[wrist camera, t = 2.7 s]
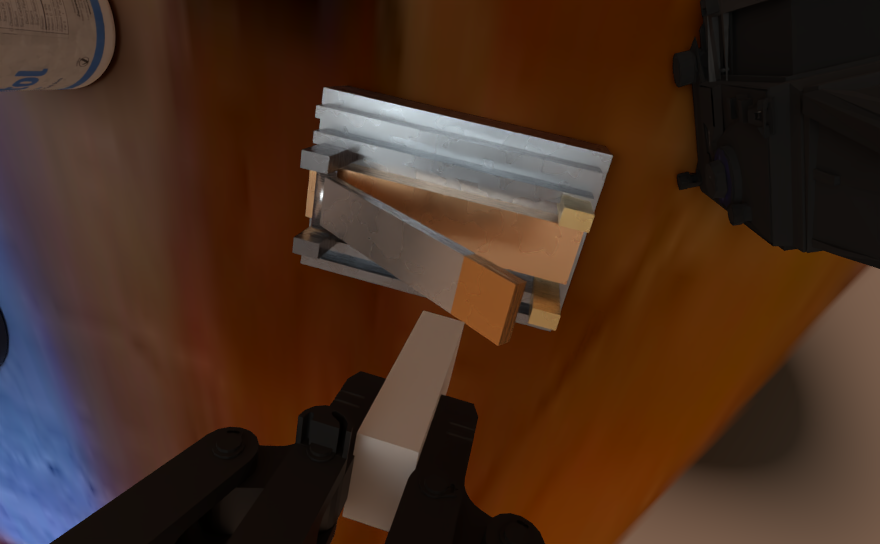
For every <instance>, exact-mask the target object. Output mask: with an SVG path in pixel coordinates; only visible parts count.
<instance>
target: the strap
mask: <svg viewBox="0 0 880 544" xmlns="http://www.w3.org/2000/svg"><path fill="white" fill-rule="evenodd" d="M337 172H338V171H337V170H336V171H333V172H331V173H329V174H324V173H320V172H317V173H316V183H315V193H314V202H313V212H312V221H311V226H312V227H313V228H315V229H319V230H328V231H329V232H331V233H332V234H334V235H335V236H337V237H338V238H340V239H341V240H343V241H344V242H346V243H347V244H348V245H350V246H351V247H353V248H354V249H356V250H357V251H359V252H360V253H362V254H363V255H365V256H366V257H368V258H369V259H371V260H372V261H374V262H375V263H376V264H378V265H379V266H381V267H382V268H384V269H385V270H387V271H388V272H390V273H391V274H393V275H394V276H396V277H397V278H399V279H400V280H402V281H403V282H405V283H406V284H407V285H409V286H410V287H412V288H413V289H415V290H416V291H418V292H419V293H421V294H422V295H424V296H425V297H427V298H428V299H430V300H431V301H433V302H434V303H435V304H437V305H438V306H440V307H441V308H443V309H444V310H446V311H447V312H449V313H450V314H452V315H453V316H455V317H456V318H458V319H459V320H461V321H462V322H465V324H466V325H468V326H469V327H471V328H472V329H474V330H475V331H477V332H478V333H480V334H481V335H483V336H484V337H486V338H487V339H489V340H490V341H491V342H493V343H494V344H496V345H497V346H499V345H501V344H504V343H507V342H509V341H510V337H511V334H512V331H513V327H514V324H515V321H516V317H517V314H518V311H519V307H520V304H521V301H522V297H523V294H524V290H525V287H526V284H527V281H525V280H523V279H521V278H519V277H518V276H516V275H514V274H512V273H510V272H509V271H507V270H505V269H503V268H501V267H500V266H498V265H496V264H494V263H492V262H490V261H489V260H487V259H485V258H483V257H481V256H480V255H478V254H476V253H474V252H472V251H470V250H469V249H467V248H465V247H463V246H461V245H460V244H458V243H456V242H454V241H452V240H450V239H449V238H447V237H445V236H443V235H441V234H440V233H438V232H436V231H434V230H432V229H430V228H429V227H427V226H425V225H423V224H421V223H420V222H418V221H416V220H414V219H412V218H410V217H409V216H407V215H405V214H403V213H401V212H400V211H398V210H396V209H394V208H392V207H390V206H389V205H387V204H385V203H383V202H381V201H380V200H378V199H376V198H374V197H372V196H370V195H369V194H367V193H365V192H363V191H361V190H360V189H358V188H356V187H354V186H352V185H350V184H349V183H347V182H345V181H343V180H341V179H340V178H338V177H337Z"/></svg>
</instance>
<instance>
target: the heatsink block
mask: <svg viewBox="0 0 880 544" xmlns="http://www.w3.org/2000/svg"><path fill="white" fill-rule="evenodd" d="M315 117H316V118H320V128H319V130H315V131H314V135H313V143H317V144H318V145H315V146H312V147H309V148H306V149H303V150H302V155H301V166H300V168H304V169H308V170H310V175H309V185H308V195H307V205H306V215H305V216H307V217H310V224H309V228H307V229H306V230H304V231H303V232H301V233H300V234H298V235H296V236H295V237H294V242H293V253H296V254H300V255H301V263H302V264H305V265H309V266H313V267H316V268H320V269H324V270H327V271H331V272H334V273H338V274H342V275H345V276H349V277H353V278H356V279H360V280H364V281H367V282H371V283H375V284H378V285H382V286H386V287H389V288H393V289H397V290H400V291H404V292H407V293H411V294H415V295H418V296H422V297H425V296H424V295H422V294H421V293H419V292H418V291H416V290H415V289H413V288H412V287H410V286H409V285H407V284H406V283H405V282H403V281H402V280H400V279H399V278H397V277H396V276H394V275H393V274H391V273H390V272H388V271H387V270H385V269H384V268H382V267H381V266H379V265H378V264H376V263H375V262H374V261H372V260H371V259H369V258H368V257H366V256H365V255H363V254H362V253H360V252H359V251H357V250H356V249H354V248H353V247H351V246H350V245H348V244H347V243H346V242H344V241H343V240H341V239H340V238H338V237H337V236H335V235H334V234H332V233H331V232H329V231H328V230H319V229H315V228H313V227H312V226H311V221H312V212H313V202H314V193H315V183H316V173H317V172H320V173H324V174H329V173H331V172H333V171H336V170H337V171H338V172H337V177H338V178H340V179H341V180H343V181H345V182H347V183H349V184H350V185H352V186H354V187H356V188H358V189H360V190H361V191H363V192H365V193H367V194H369V195H370V196H372V197H374V198H376V199H378V200H380V201H381V202H383V203H385V204H387V205H389V206H390V207H392V208H394V209H396V210H398V211H400V212H401V213H403V214H405V215H407V216H409V217H410V218H412V219H414V220H416V221H418V222H420V223H421V224H423V225H425V226H427V227H429V228H430V229H432V230H434V231H436V232H438V233H440V234H441V235H443V236H445V237H447V238H449V239H450V240H452V241H454V242H456V243H458V244H460V245H461V246H463V247H465V248H467V249H469V250H470V251H472V252H474V253H476V254H478V255H480V256H481V257H483V258H485V259H487V260H489V261H490V262H492V263H494V264H496V265H498V266H500V267H501V268H503V269H505V270H507V271H509V272H510V273H512V274H514V275H516V276H518V277H519V278H521V279H523V280H525V281H527V284H526V287H525V290H524V294H523V297H522V301H521V304H520V307H519V311H518V314H517V317H516V321H515V322H517V323H521V324H524V325H528V326H532V327H535V328H539V329H543V330H546V331H550V332H551V330H555V331H556V328H557V325H558V322H559V319H560V316H561V308H562V305H563V302H564V299H565V296H566V294H567V291H568V288H569V285H570V282H571V279H572V276H573V273H574V270H575V267H576V264H577V261H578V258H579V255H580V252H581V249H582V246H583V243H584V240H585V237H586V234H587V233H589V231H590V228H591V225H592V222H593V219H594V216H595V214H594V211H595V208H596V205H597V202H598V199H599V196H600V193H601V190H602V187H603V184H604V181H605V178H606V175H607V172H608V169H609V166H610V163H611V160H612V157H613V155H612V153H611V152H610V151H609V150H608V148H607V147H606V146H603V145H599V144H594V143H590V142H586V141H582V140H577V139H573V138H569V137H564V136H560V135H556V134H552V133H547V132H543V131H539V130H535V129H530V128H526V127H522V126H517V125H513V124H509V123H505V122H500V121H496V120H492V119H488V118H483V117H479V116H475V115H470V114H466V113H462V112H458V111H453V110H449V109H445V108H440V107H436V106H432V105H428V104H423V103H419V102H415V101H411V100H406V99H402V98H398V97H393V96H389V95H385V94H381V93H376V92H372V91H368V90H364V89H359V88H355V87H351V86H335V87H324V89H323V99H322V104H321V105H316V115H315ZM426 298H427V297H426Z"/></svg>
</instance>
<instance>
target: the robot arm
mask: <svg viewBox="0 0 880 544" xmlns="http://www.w3.org/2000/svg"><path fill="white" fill-rule="evenodd" d="M464 323H465V322H462V321H459V320H455V319H452V318H448V317H445V316H441V315H437V314H434V313H430V312H427V311H423V312H422V314H421V316H420V317H419V319H418V321H417V323H416V325H415V327H414V329H413V330H412V332H411V334H410V336H409V338H408V340H407V341H406V343H405V345H404V347H403V349H402V351H401V352H400V354H399V356H398V358H397V360H396V362H395V364H394V365H393V367H392V369H391V371H390V373H389V375H388V376H387V378H386V379H385V378H381V377H378V376H375V375H371V374H368V373H365V372H361V371H360V372H359V373H357V374H355V375H353V376H352V377H350V378H348V379H347V381H346V382H345V384H344V385H343V387H342V388H341V390H340V392H339V393H338V394H337V396H336V397H335V400H333V402H332V403H331V405H330V406H326V405H323V406H314V407H312V408H309V409H306V410H305V411H304V412H302V413H301V414H300V415H299V416H298V425H297V434H296V443H295V444H292V445H288V446H262V445H259V443H258V440H257V437H256V436H255V435H254V434H253V433H252V432H251V431H249V430H246V429H243V428H239V427H227V428H222V429H218V430H216V431H214V432H211V433H209V434H208V435H206V436H205V437H203V438H202V439H200V440H199V441H197V442H196V443H195V444H193V445H192V446H190V447H189V448H187V449H186V450H184V451H183V452H182V453H180V454H179V455H177V456H176V457H174V458H173V459H171V460H170V461H168V462H167V463H166V464H164V465H163V466H161V467H160V468H158V469H157V470H155V471H154V472H153V473H151V474H150V475H148V476H147V477H145V478H144V479H142V480H141V481H140V482H138V483H137V484H135V485H134V486H132V487H131V488H129V489H128V490H127V491H125V492H124V493H122V494H121V495H119V496H118V497H116V498H115V499H113V500H112V501H111V502H109V503H108V504H106V505H105V506H103V507H102V508H100V509H99V510H98V511H96V512H95V513H93V514H92V515H90V516H89V517H87V518H86V519H85V520H83V521H82V522H80V523H79V524H77V525H76V526H74V527H73V528H72V529H70V530H69V531H67V532H66V533H64V534H63V535H61V536H60V537H59V538H57V539H56V540H54V541H53V542H51V543H50V544H330V543H331V541H332V539H333V537H334V534H335V529H336V524H337V519H338V517H339V515H340V513H341V511H342V509H343V506H344V510H343V517H346V518H349V519H352V520H355V521H358V522H361V523H364V524H367V525H370V526H373V527H376V528H379V529H382V530H385V531H388V532H389V533H388V536H387V539H386V541H385V544H545V543H544V540H543V538H542V536H541V534H540V532H539V531H538V529H537V528H536V527H535V526H534V525H533V524H532V523H531V522H529V521H528V520H526V519H525V518H523V517H521V516H518V515H514V514H511V513H508V514H499V515H497V516H495V517H493V518H492V517H490V516H489V515H487V514H486V513H484V512H483V511H481V510H480V509H479V508H478V507H476V506H475V505H474V503H473V502H472V501H471V500H470V499H469V497H468V495H467V493H466V490H465V486H464V482H465V475H466V470H467V466H468V461H469V456H470V452H471V447H472V443H473V438H474V433H475V429H476V424H477V420H478V415H477V412H476V409H475V406H474V404H472V403H469V402H465V401H462V400H459V399H455V398H452V397H449V396H445V395H446V392H447V389H448V386H449V382H450V379H451V375H452V371H453V367H454V363H455V359H456V355H457V351H458V347H459V343H460V339H461V335H462V331H463V327H464ZM6 351H7V334H6V329H5V325H4V322H3V319H2V316H1V314H0V365H1V364H2V362H3V360H4V358H5V355H6ZM344 504H345V505H344Z"/></svg>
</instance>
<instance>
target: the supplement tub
mask: <svg viewBox="0 0 880 544" xmlns="http://www.w3.org/2000/svg"><path fill="white" fill-rule="evenodd" d="M114 48H115V24H114V19H113V14H112V11H111V8H110V5H109V2H108V0H0V91H28V90H62V89H77V88H81V87H84V86H87V85H89V84H91V83H92V82H94V81H95V80H97V79H98V78H99V77H100V76H101V75H102V74H103V73H104V71H105V70H106V69H107V67H108V65H109V63H110V61H111V59H112V56H113V53H114Z"/></svg>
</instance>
